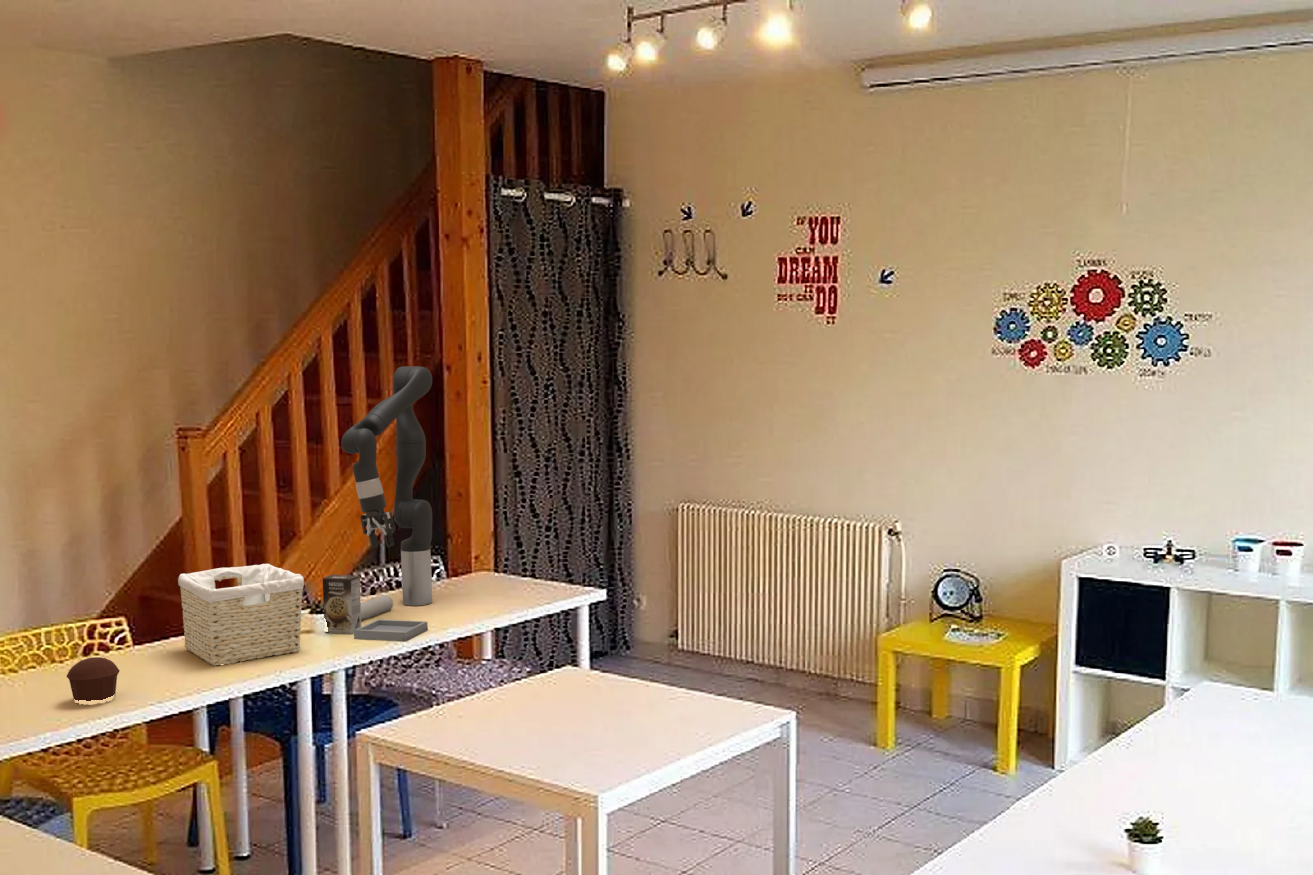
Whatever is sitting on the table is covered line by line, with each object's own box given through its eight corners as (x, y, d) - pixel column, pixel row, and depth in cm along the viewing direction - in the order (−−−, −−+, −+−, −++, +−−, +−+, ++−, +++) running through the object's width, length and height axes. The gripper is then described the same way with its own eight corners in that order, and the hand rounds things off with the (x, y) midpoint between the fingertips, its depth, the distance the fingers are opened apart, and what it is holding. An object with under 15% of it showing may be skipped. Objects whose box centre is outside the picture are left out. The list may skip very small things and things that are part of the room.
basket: (310, 652, 356) (307, 573, 355) (211, 670, 340) (207, 587, 338) (273, 635, 378) (269, 560, 376) (178, 650, 362) (174, 572, 360)
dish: (377, 627, 384) (377, 619, 384) (427, 630, 380) (427, 621, 380) (354, 638, 371) (353, 630, 371) (405, 641, 367) (405, 632, 366)
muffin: (109, 691, 322) (107, 650, 321) (129, 699, 314) (127, 658, 313) (59, 701, 313) (57, 660, 312) (79, 710, 305) (76, 667, 305)
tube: (346, 616, 384) (395, 598, 407) (332, 609, 386) (381, 591, 409) (342, 632, 385) (391, 614, 408) (328, 625, 387) (377, 607, 410)
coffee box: (323, 633, 379) (321, 578, 377) (334, 628, 385) (331, 573, 384) (352, 634, 377) (350, 578, 375) (362, 629, 383) (360, 574, 382)
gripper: (394, 490, 391) (406, 542, 392) (368, 493, 401) (380, 544, 403) (373, 496, 386) (385, 549, 387) (347, 498, 396) (359, 550, 397)
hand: (383, 546), depth 395 cm, fingers open, 8 cm apart
